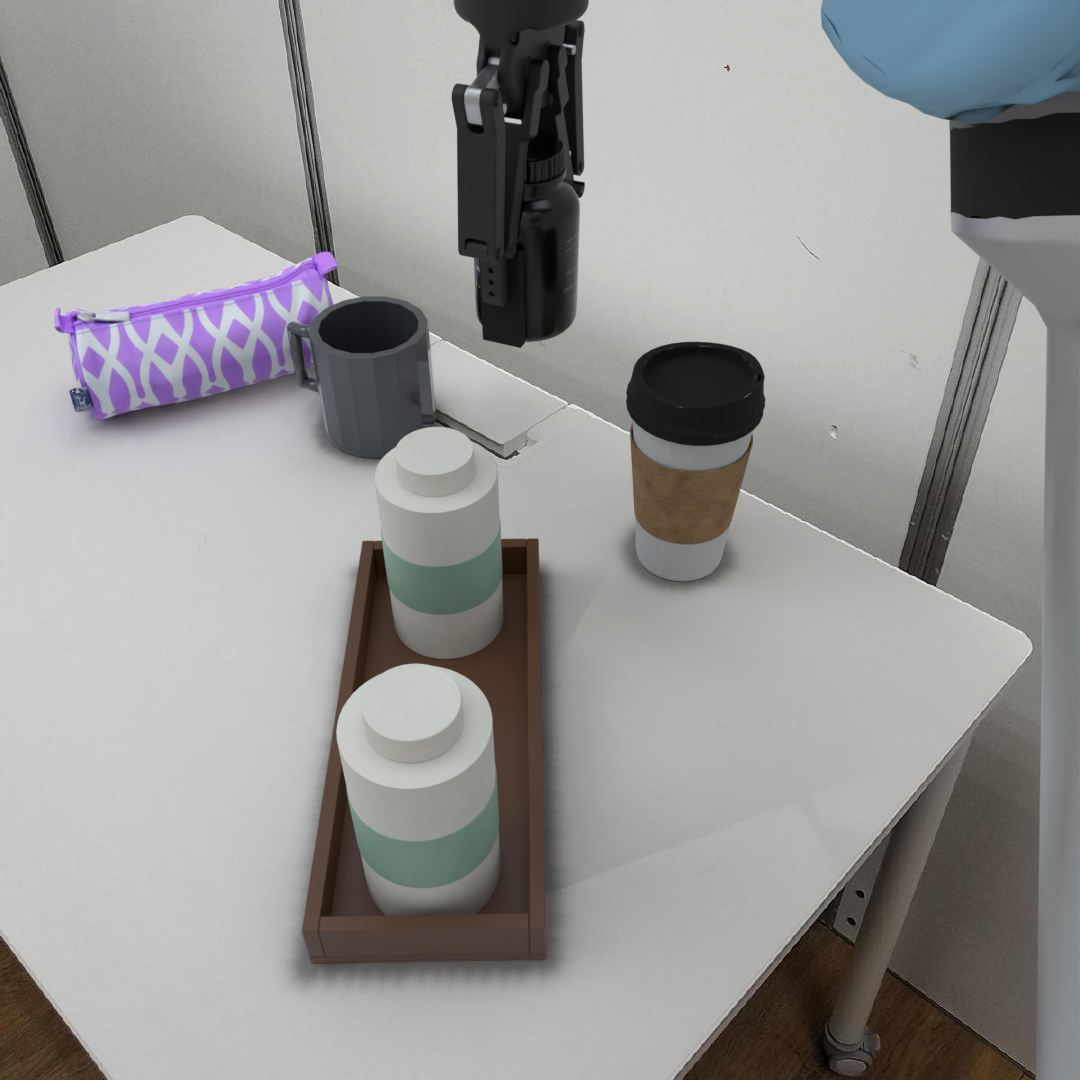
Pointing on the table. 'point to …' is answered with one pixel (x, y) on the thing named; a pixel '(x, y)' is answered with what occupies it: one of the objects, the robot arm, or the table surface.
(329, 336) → the grey mug
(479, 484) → the white bottle far
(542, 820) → the tray
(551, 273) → the supplement bottle
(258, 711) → the table surface
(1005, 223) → the robot arm
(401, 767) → the white bottle near
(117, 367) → the pencil case
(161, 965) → the table surface
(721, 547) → the coffee cup
